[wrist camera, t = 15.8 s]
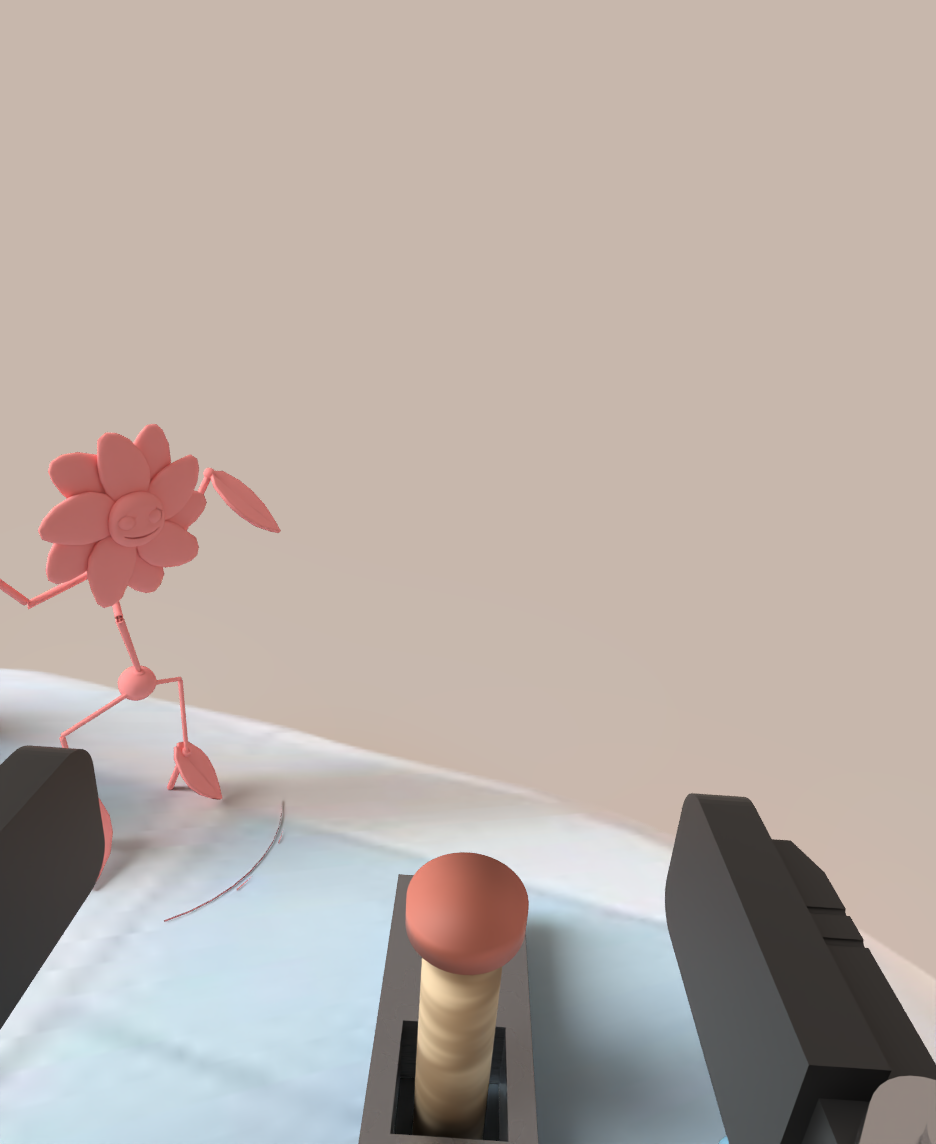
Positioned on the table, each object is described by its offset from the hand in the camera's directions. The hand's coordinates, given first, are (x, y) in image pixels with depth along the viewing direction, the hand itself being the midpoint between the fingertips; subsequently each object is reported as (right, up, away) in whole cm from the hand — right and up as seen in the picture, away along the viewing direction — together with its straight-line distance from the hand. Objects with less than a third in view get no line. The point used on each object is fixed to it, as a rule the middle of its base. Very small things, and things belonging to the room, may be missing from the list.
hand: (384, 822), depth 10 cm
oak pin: (0, -29, +31) cm, 42 cm away
